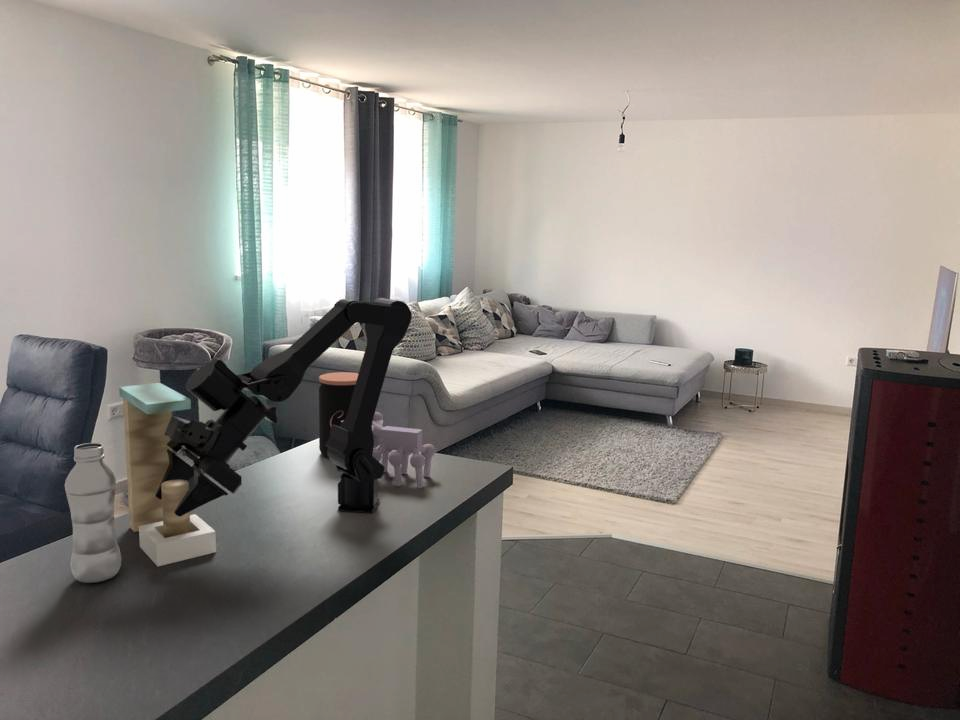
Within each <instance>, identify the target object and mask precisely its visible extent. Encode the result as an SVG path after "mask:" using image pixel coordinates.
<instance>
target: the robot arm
mask: <svg viewBox="0 0 960 720" xmlns="http://www.w3.org/2000/svg"><path fill="white" fill-rule="evenodd" d="M412 314H413V312H412V311H411V309H410V307H409V306H408V305H407V303H406V302H404V301H401V300H396V299H390V298H383V297H378V298H376V299H374V300H373V301H371V302H369V301H359V300H354V299H353V300H352V299H347V298H341V299H339V300H338V301H336V303H335V304H333V307H332V308H331V309H330V310H329V311H328V312H326V313H325V314H324V315H323V316H322V317H321V318H320V319H319V320H317V321H316V323H314V324H313V325H312V326H311V327H310V328H309V329H307V331H306V332H304V334H302V336H300V337H299V338H297V340H296V341H295V342H294V343H292V345H290V346H289V347H287V348H285V350H283V351H281V352H279V353H276V354H274V355H271V356H269V357H268V358H266V359H264V360H263V361H262V362H261V363H260V362H259V364H257V365H256V366H254V367H253V368H252V369H251V371H245V372H242V373H238V374H236V373H235V372H234V371H232V370H231V369H230V368H229V367H228V366H227V364H226V363H225V362H224V361H223V360H222V359H220V358H218V357H214V358H213V359H212V360H211V361H210V362H208V363H205V364H203V365H202V366H201V367H199V368H198V369H196V370H195V371H193V372H192V374H191V375H190V376H189V378H188V379H187V381H186V383H185V389H186V391H188V392H189V393H190V394H191V395H193V396H195V398H197V399H198V400H199V401H200V402H202V403H203V405H205V406H206V407H208V408H209V409H210V410H211V411H213V412H217V411H220V410H221V411H223V412H222V413H221V414H220V415H219V416H218V418H216V420H215V421H214V420H213V419H210V420H207V421H206V422H203V421H200V420H199V421H198V420H197V419H191V421H190V420H188V419H184V418H181V417H178V416H174V415H172V417H171V419H170V422H169V424H168V427H167V429H166V431H165V434H164V435H165V436H167V435H168V436H169V437H170V439H171V440H170V441H169V442H168V443H167V446H169V447H170V448H171V449H173V450H172V451H170V450H169V449H167V453H168V456H169V466H168V468H167V471H166V473H165V475H164V477H163V479H162V482H161V484H162V483H163V482H166V481H169V480H177V479H181V480H186V481H188V482H189V481H190V480H191V479H192V478H193V483H192V484H191V486H189V490H188V492H187V493H186V494H185V496H184V497H183V499H182V500H181V502H180V503H179V505H178V507H177V508H176V510H175V512H174V513H175V514H176V515H177V516H179V517H180V516H182V515H184V514H186V513H188V512H190V513H191V512H192V511H194V510H196V509H197V508H200V507H201V506H204V505H206V504H208V503H209V502H212V501H215V500H216V499H219V498H221V497H224V496H225V497H226V496H228V495H229V493H228V492H230V493H231V494H233V495H235V493H236V492H237V491H238V490H239V488H240V487H241V486H242V475H240V474H239V473H238V472H236V471H235V470H233V468H231V466H230V465H229V464H228V462H229V461H230V459H231V458H233V457H234V455H235V454H236V453H237V452H238V451H239V450H241V451H244V450H245V449H246V448H247V447H248V445H247V444H245V442H246V441H247V439H248V438H249V437H250V436H251V435H252V434H253V432H254V431H255V430H256V429H257V428H258V426H259V425H260V424H261V423H262V421H264V419H265V420H266V421H268V422H270V423H272V424H274V425H275V424H277V423H278V419H277V417H278V416H277V407H276V406H274V405H272V404H268V405H267V404H265V403H264V402H263V401H262V400H261V399H260V398H259V396H260V397H261V398H264V399H266V400H268V401H271V402H273V403H282V402H285V401H286V400H289V398H290V397H291V396H292V395H293V394H294V393H295V391H296V390H297V388H298V387H299V385H301V383H302V382H303V380H304V377H305V375H306V371H307V370H308V369H309V368H310V366H311V365H313V363H314V362H316V360H318V359H319V358H320V357H321V356H322V355H324V353H325V352H326V351H327V350H328V349H330V347H332V346H333V345H334V344H335V342H338V340H339V339H340V338H341V337H342V336H343V335H344V334H345V333H347V332H348V331H349V330H350V329H351V328H352V327H353V326H354V325H355V324H364V332H365V337H366V347H365V350H364V353H363V357H362V360H361V364H360V367H359V371H358V373H359V374H358V377H357V381H356V384H355V388H354V392H353V395H352V399H351V402H350V406H349V409H348V413H347V416H346V418H345V420H344V421H343V422H342V423H341V424H340V425H339V427H338V426H336V425H332V427H331V429H330V436H329V439H328V441H327V442H326V444H325V445H326V446H328V449H327V455H328V457H329V458H328V459H329V460H330V462H331V463H332V464H333V465H334V466H335V469H336V471H338V472H341V473H342V474H341V475H340V481H339V482H338V483H337V504H338V507H337V511H339V512H354V513H367V514H371V513H373V512H374V511H375V509H376V508H377V506H378V505H379V503H380V501H381V500H380V498H378V482H377V479H379V480H380V479H382V478H383V474H384V473H385V472H384V469H385V467H384V466H383V465H382V464H381V463H382V462H380V461H379V462H378V461H377V460H376V459H375V458H374V457H373V449H375V448H374V438H373V431H372V422H373V418H374V415H375V412H377V409H378V403H379V400H380V396H381V393H382V390H383V386H384V382H385V380H386V379H385V378H386V375H387V372H388V369H389V366H390V365H389V364H390V362H391V358H392V354H393V352H394V350H395V349H396V347H397V346H398V345H399V343H401V341H403V339H404V338H405V336H406V334H407V331H408V330H409V327H410V325H411V322H412V319H413V318H412V317H413V315H412ZM243 390H244V391H247V392H249V393H251V394H253V395H251V396H247V395H246V394H245V393H244V392H243ZM255 395H256V396H255ZM257 396H258V397H257ZM193 466H194V467H193ZM196 468H197V469H198V470H197V469H196ZM199 470H201V471H202V472H203V473H202V472H201V471H199ZM161 484H160V486H159V488H158V490H157V492H156V494H155V496H156V497H157V498H158V499H162V489H161ZM226 490H227V491H228V492H227V491H226Z"/></svg>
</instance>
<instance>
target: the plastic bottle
mask: <svg viewBox="0 0 960 720" xmlns="http://www.w3.org/2000/svg"><path fill="white" fill-rule="evenodd" d="M73 449H74V450H73V453H74V456H73V461H74V462H76V463H75V465H74V466H73V467H72V469H71V470H70V472H68V475H67V477H66V478H65V482H64V489H65V494H66V495H65V496H66V499H67V502H68V507H69V510H70V517H71V518H70V519H71V523H72V524H71V525H72V551H71V556H70V566H69V567H70V569H71V574H72V576H73V578H75V580H76V581H78V582H80V583H84V584H92V583H101V582H104V581H107V580H109V579H112V578H113V577H115V576H116V575H117V574H118V573H119V571H120V570H121V566H122V560H123V559H122V554H121V550H120V546H119V544H118V538H117V533H116V532H117V531H116V527H115V526H116V525H115V517H114V515H115V497H116V496H115V495H116V485H117V484H116V483H117V482H116V481H117V479H116V477H115V476H116V475H114V472H113V471H112V469H111V468H110V467H109V466H108V465H107V464H106V463H105V462H104V460H103V459H105V452H104V445H103V443H100V442H88V443H81V444H78V445H75V446H74V448H73Z"/></svg>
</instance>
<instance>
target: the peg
mask: <svg viewBox="0 0 960 720" xmlns="http://www.w3.org/2000/svg"><path fill="white" fill-rule="evenodd" d="M189 484H190V483H189V480H188V481H186V480H181V479H177V480H169V481H166V482H163V483H162V484H161V489H162V511H163V533H164V538H168V537H172V536H177V535H181V534H186V533H190V515H191V514H190V513H191V511H190V512H188V513H186V514H184V515H182V516H180V517H179V516H177V515H176V514H175V513H174V512H175V510H176V508H177V507H178V505H179V503H180V502H181V500H182V499H183V497H184V496H185V494H186V493H187V492H188V490H189V489H190V485H189Z"/></svg>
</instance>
